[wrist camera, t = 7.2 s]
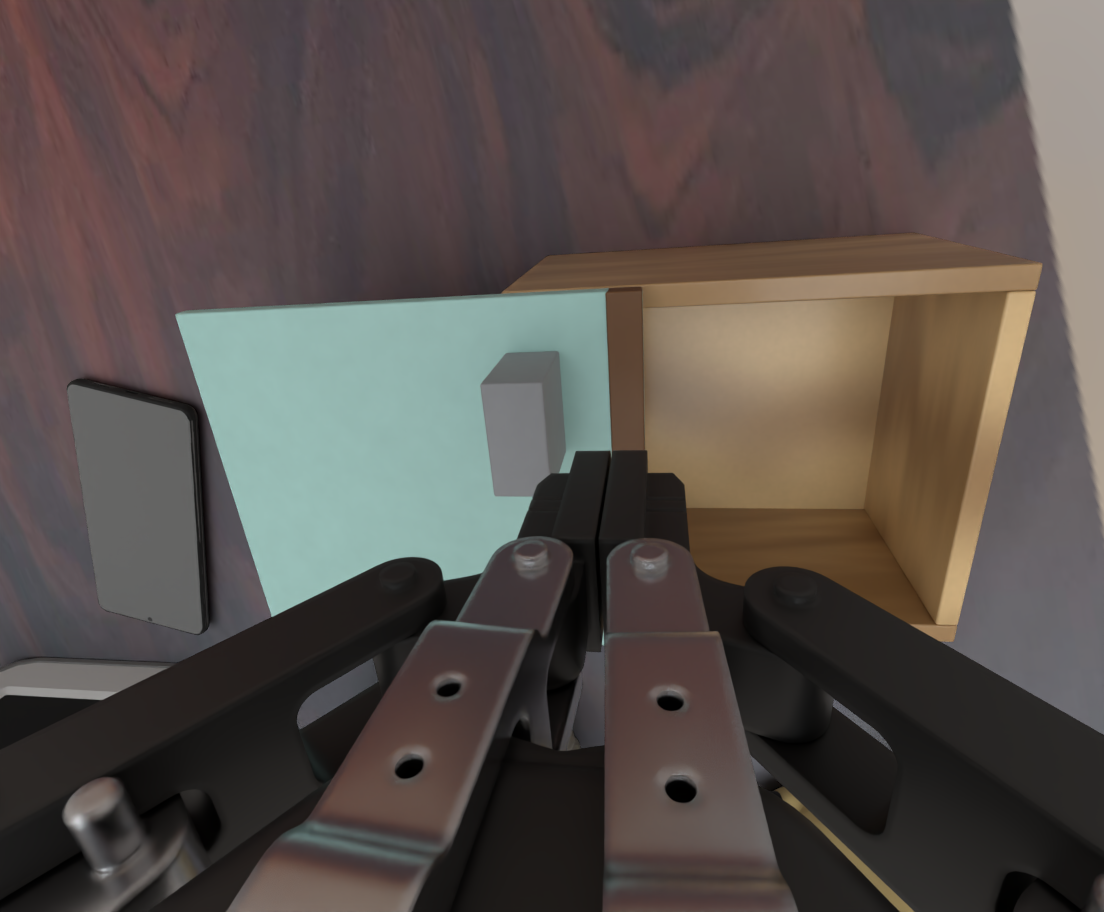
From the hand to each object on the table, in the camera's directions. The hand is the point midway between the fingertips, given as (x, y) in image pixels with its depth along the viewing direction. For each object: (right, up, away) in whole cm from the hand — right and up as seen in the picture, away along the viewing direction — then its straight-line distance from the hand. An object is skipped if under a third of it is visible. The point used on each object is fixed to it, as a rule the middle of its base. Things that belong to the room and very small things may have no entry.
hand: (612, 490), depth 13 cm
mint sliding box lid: (-5, 0, +8) cm, 10 cm away
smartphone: (-24, -2, +22) cm, 33 cm away
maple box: (+6, +4, +14) cm, 16 cm away
